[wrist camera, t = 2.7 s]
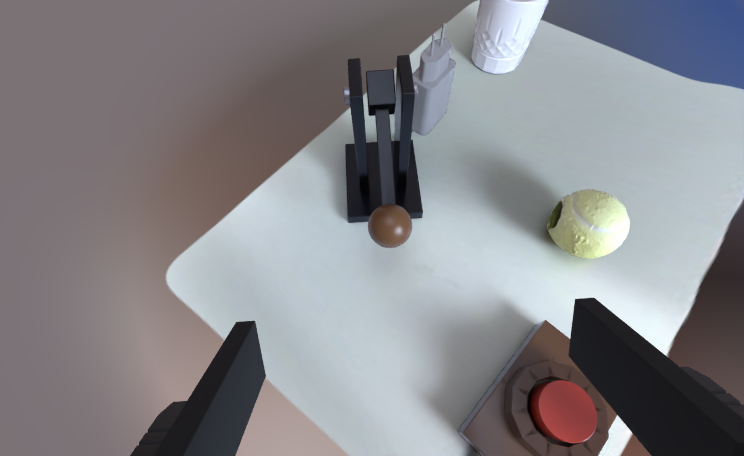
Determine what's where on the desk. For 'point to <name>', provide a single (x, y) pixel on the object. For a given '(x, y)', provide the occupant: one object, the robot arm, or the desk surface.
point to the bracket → (365, 155)
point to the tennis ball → (589, 224)
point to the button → (563, 411)
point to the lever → (385, 164)
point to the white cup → (504, 33)
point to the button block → (512, 402)
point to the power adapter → (433, 84)
